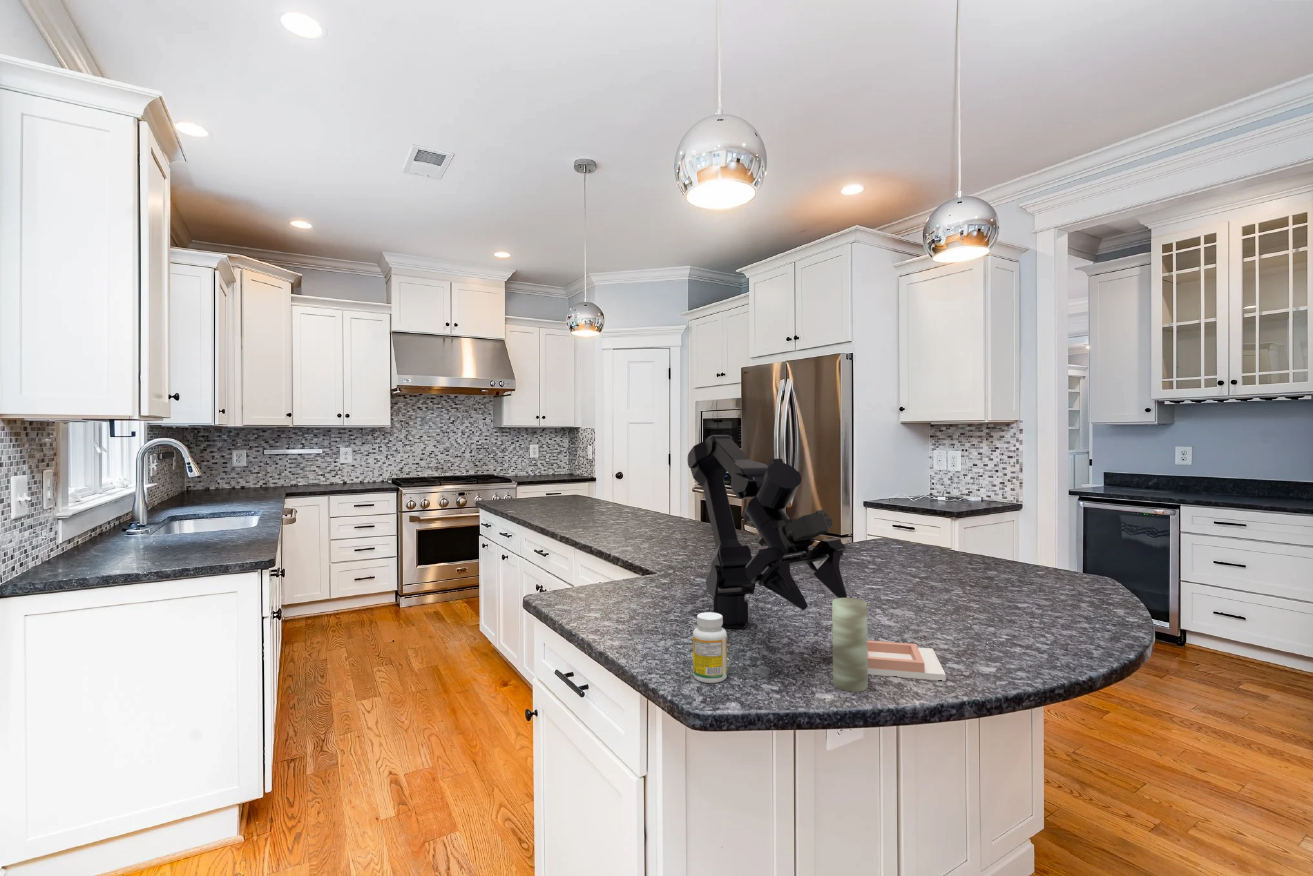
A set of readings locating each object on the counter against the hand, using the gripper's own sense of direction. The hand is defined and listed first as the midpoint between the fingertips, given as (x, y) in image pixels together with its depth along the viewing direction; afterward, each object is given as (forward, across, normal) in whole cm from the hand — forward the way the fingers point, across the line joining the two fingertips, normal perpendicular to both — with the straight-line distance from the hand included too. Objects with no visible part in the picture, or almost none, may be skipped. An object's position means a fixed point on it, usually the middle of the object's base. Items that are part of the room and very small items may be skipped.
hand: (825, 603), depth 97 cm
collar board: (+10, +14, +6) cm, 18 cm away
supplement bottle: (+1, -15, +16) cm, 22 cm away
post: (+11, 0, +5) cm, 12 cm away
